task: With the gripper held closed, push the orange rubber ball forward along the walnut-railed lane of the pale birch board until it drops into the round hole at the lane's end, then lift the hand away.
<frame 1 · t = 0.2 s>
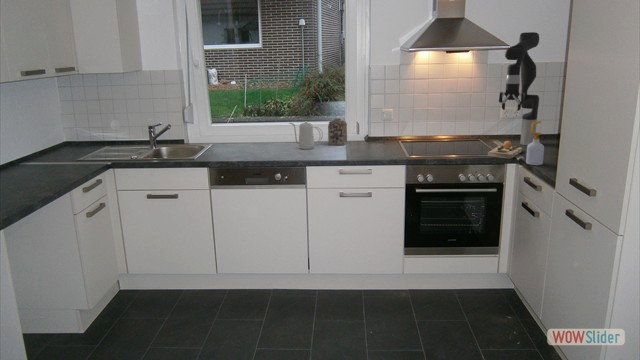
hand: (511, 110, 311), 29 cm above the countertop, tool pointing down, fingers open, 8 cm apart
coffeepot: (306, 148, 361), on the countertop
soap bottle: (534, 163, 300), on the countertop
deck: (505, 153, 327), on the countertop
decorative jar: (337, 144, 372), on the countertop
ball: (507, 144, 328), point 5 cm above the countertop, touching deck
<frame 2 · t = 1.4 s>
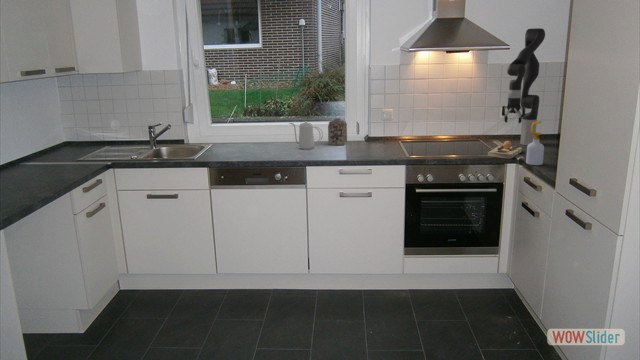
hand: (512, 122, 331), 18 cm above the countertop, tool pointing down, fingers open, 7 cm apart
nothing on the countertop moved.
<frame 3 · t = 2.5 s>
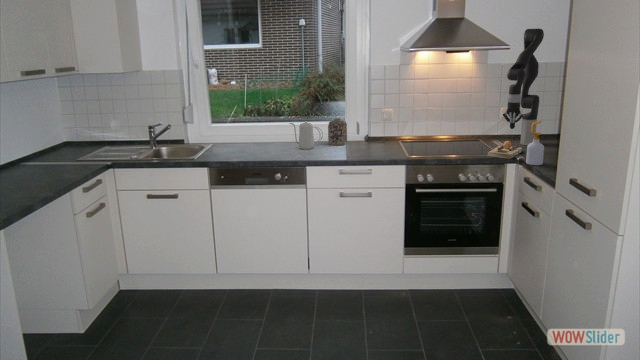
hand: (512, 128, 332), 14 cm above the countertop, tool pointing down, fingers closed
nothing on the countertop moved.
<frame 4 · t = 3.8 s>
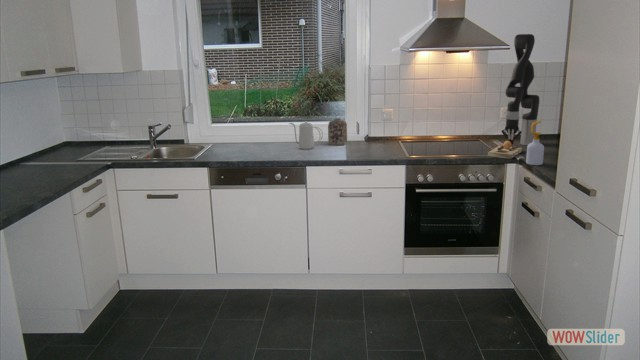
hand: (510, 145, 335), 4 cm above the countertop, tool pointing down, fingers closed
nothing on the countertop moved.
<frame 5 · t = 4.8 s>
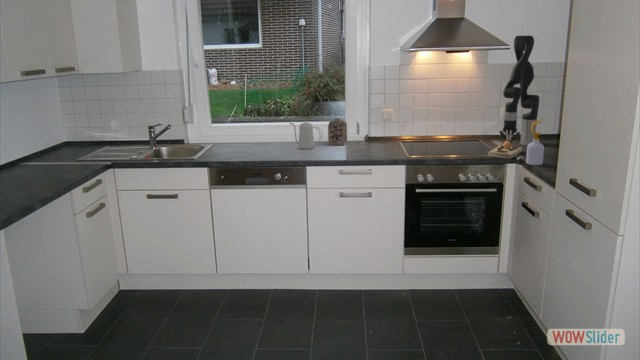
hand: (508, 146, 331), 4 cm above the countertop, tool pointing down, fingers closed
ball: (507, 145, 328), point 5 cm above the countertop, tilted 7°, touching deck, gripper
everything else where it was.
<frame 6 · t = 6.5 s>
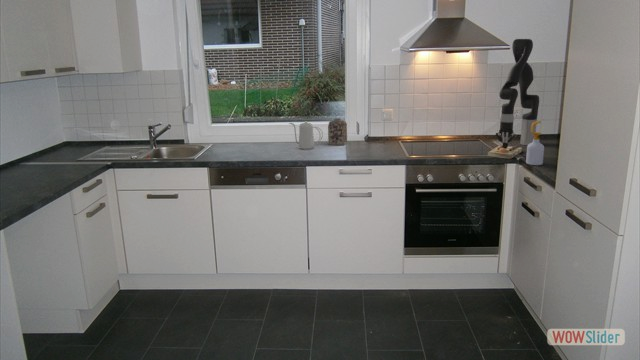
hand: (505, 148, 325), 4 cm above the countertop, tool pointing down, fingers closed
ball: (502, 151, 321), point 2 cm above the countertop, tilted 159°
everything else where it was.
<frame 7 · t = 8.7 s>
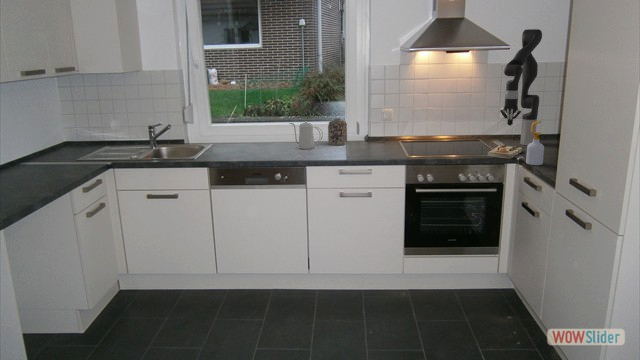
hand: (509, 125, 327), 17 cm above the countertop, tool pointing down, fingers closed
ball: (502, 151, 322), point 2 cm above the countertop, tilted 174°
everything else where it was.
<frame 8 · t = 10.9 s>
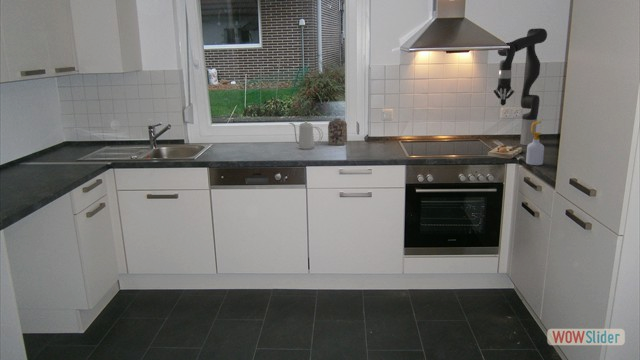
hand: (502, 105, 330), 29 cm above the countertop, tool pointing down, fingers closed
ball: (502, 151, 322), point 2 cm above the countertop, tilted 169°
everything else where it was.
at the end: ball 0.7 cm from the target spot on the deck, point 2.5 cm above the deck's base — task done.
